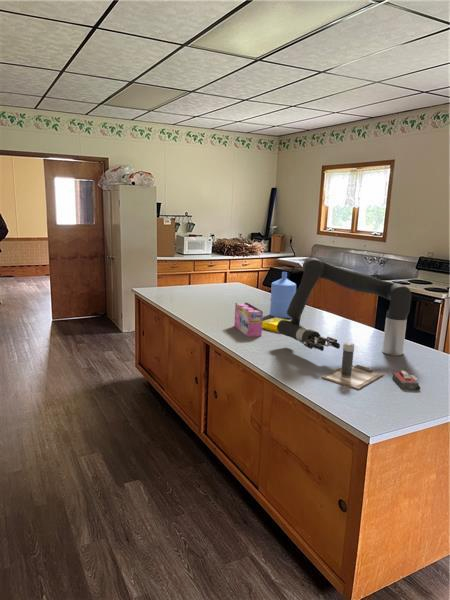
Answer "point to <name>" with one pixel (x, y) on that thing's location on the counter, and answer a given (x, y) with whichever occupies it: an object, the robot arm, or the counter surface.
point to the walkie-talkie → (406, 380)
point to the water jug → (281, 296)
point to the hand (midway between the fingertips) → (331, 347)
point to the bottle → (347, 360)
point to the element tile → (271, 324)
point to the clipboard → (354, 377)
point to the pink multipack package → (248, 319)
